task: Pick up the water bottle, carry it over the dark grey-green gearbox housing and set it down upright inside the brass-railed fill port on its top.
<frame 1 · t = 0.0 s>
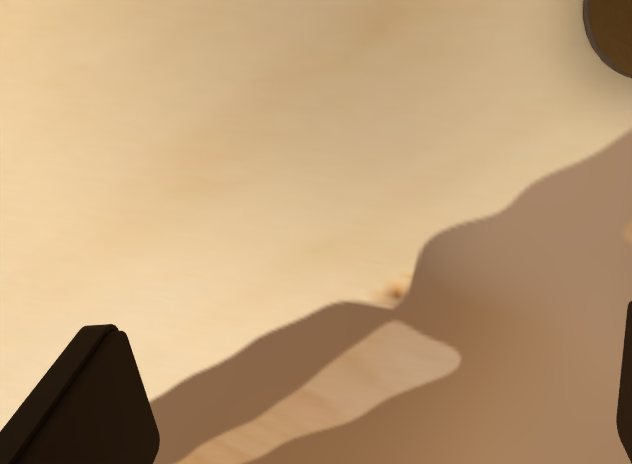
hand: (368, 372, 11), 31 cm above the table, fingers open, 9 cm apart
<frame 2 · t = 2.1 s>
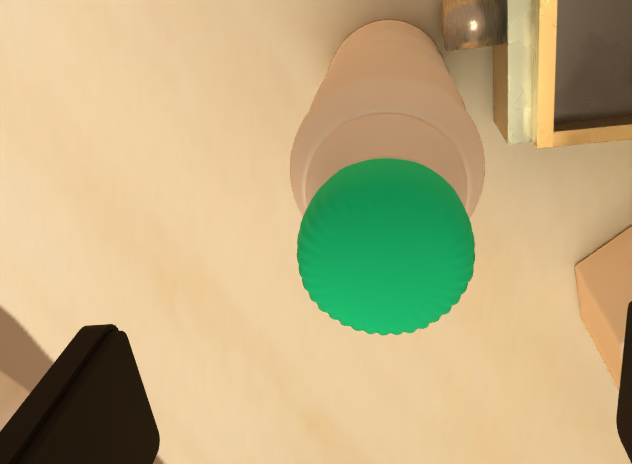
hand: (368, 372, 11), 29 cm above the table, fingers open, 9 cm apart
water bottle: (386, 77, 38), on the table
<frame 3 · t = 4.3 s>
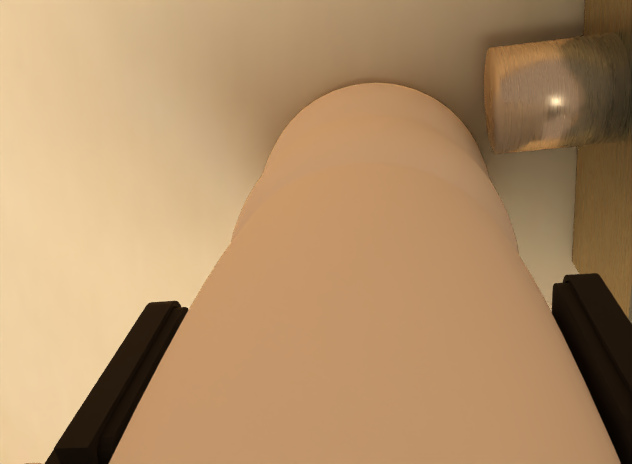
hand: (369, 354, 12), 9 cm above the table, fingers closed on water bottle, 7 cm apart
water bottle: (374, 181, 20), on the table, touching gripper
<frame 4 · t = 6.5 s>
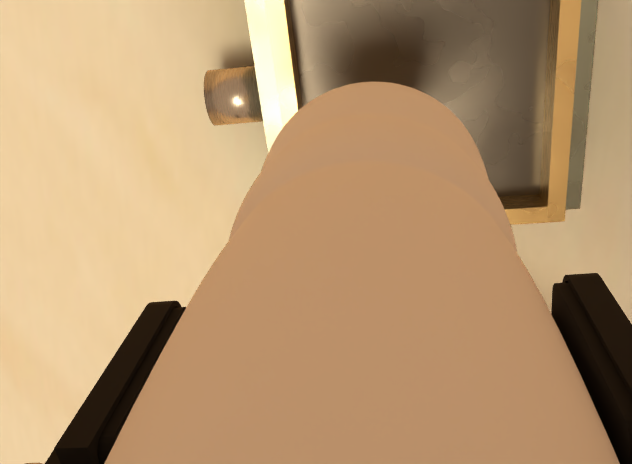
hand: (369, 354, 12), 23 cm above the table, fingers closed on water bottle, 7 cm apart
water bottle: (372, 180, 20), point 14 cm above the table, touching gripper
gearbox: (413, 68, 32), on the table
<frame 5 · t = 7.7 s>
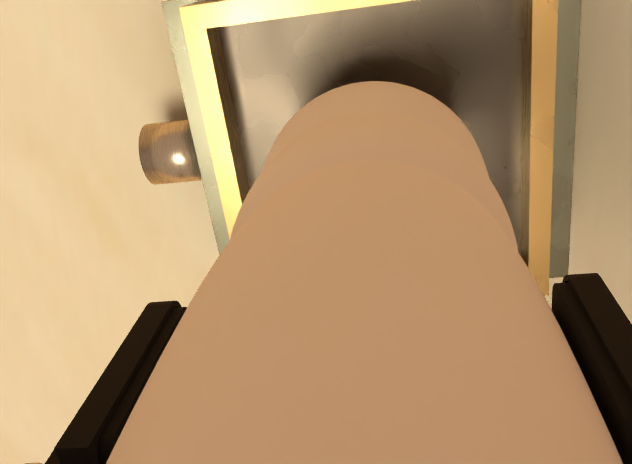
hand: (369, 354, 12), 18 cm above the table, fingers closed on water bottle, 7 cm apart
water bottle: (373, 180, 20), point 9 cm above the table, touching gripper
gearbox: (379, 116, 28), on the table
when the fingers open (15 cm above the table, at t = 8.8 s): water bottle stays where it is, resting on gearbox.
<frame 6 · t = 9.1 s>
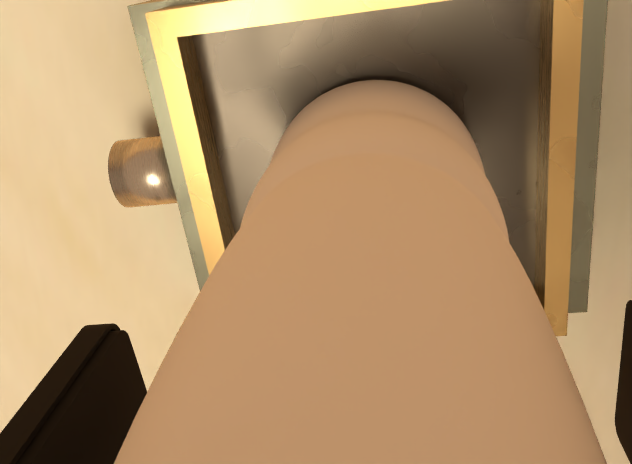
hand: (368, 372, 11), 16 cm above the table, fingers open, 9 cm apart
water bottle: (375, 174, 21), point 5 cm above the table, touching gearbox
gearbox: (376, 130, 26), on the table
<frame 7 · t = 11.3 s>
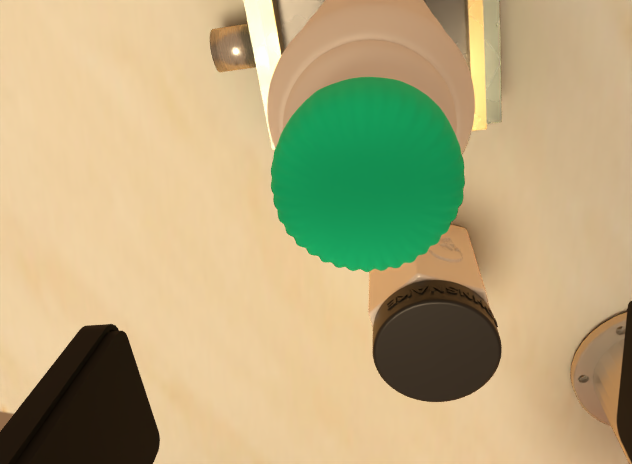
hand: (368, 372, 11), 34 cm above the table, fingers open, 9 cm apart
jar: (423, 261, 49), on the table
water bottle: (372, 35, 36), point 5 cm above the table, touching gearbox
gearbox: (373, 22, 41), on the table
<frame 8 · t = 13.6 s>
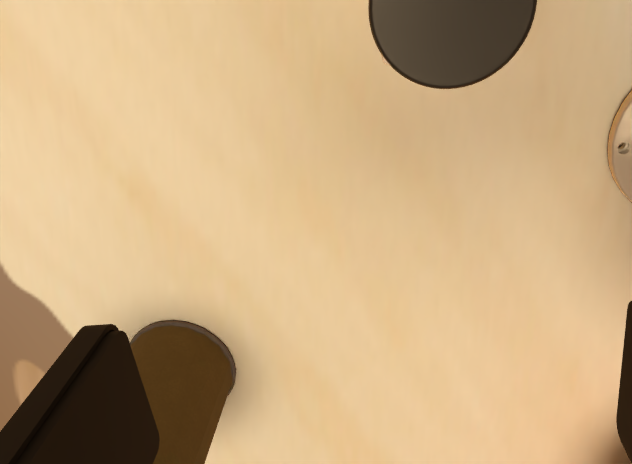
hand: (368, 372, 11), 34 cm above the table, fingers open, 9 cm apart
canister: (180, 365, 56), on the table
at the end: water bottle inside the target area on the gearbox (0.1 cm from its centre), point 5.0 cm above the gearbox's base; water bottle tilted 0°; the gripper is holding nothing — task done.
